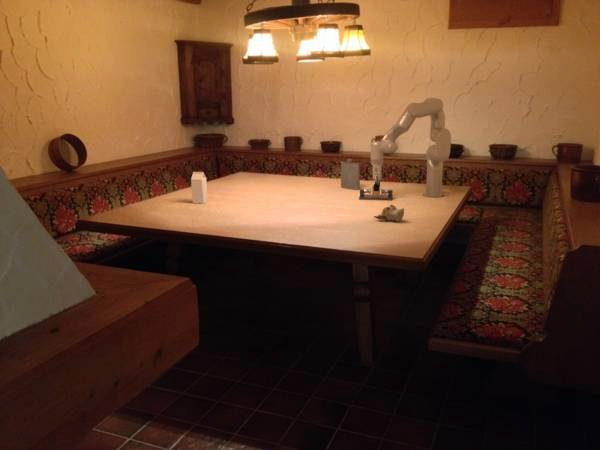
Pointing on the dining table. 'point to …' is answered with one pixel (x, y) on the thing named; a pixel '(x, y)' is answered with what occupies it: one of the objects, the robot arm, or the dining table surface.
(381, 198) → the shaft rig
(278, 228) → the dining table surface
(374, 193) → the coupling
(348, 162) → the hip flask
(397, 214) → the ceramic sculpture
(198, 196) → the milk carton
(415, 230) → the dining table surface
